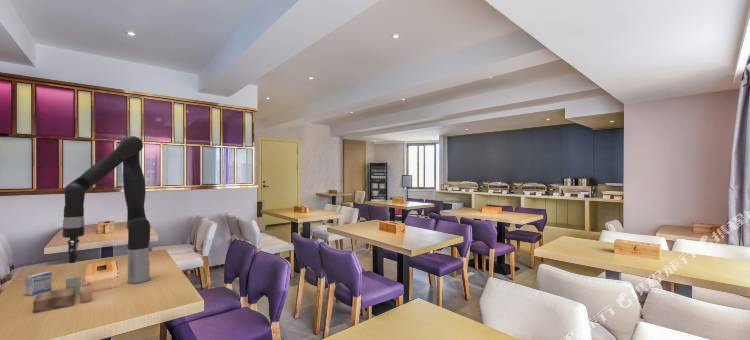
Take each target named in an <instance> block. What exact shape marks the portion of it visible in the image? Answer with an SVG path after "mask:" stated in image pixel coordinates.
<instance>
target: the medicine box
mask: <svg viewBox="0 0 750 340" xmlns="http://www.w3.org/2000/svg"><path fill="white" fill-rule="evenodd" d="M24 279H25V280H24V287H25V288H24V289H25V290H24V294H25V296H37V294H38V293H42V292H48V291H52V272H51V271H43V272H39V273H35V274H31V275H28V276H25V277H24Z"/></svg>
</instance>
